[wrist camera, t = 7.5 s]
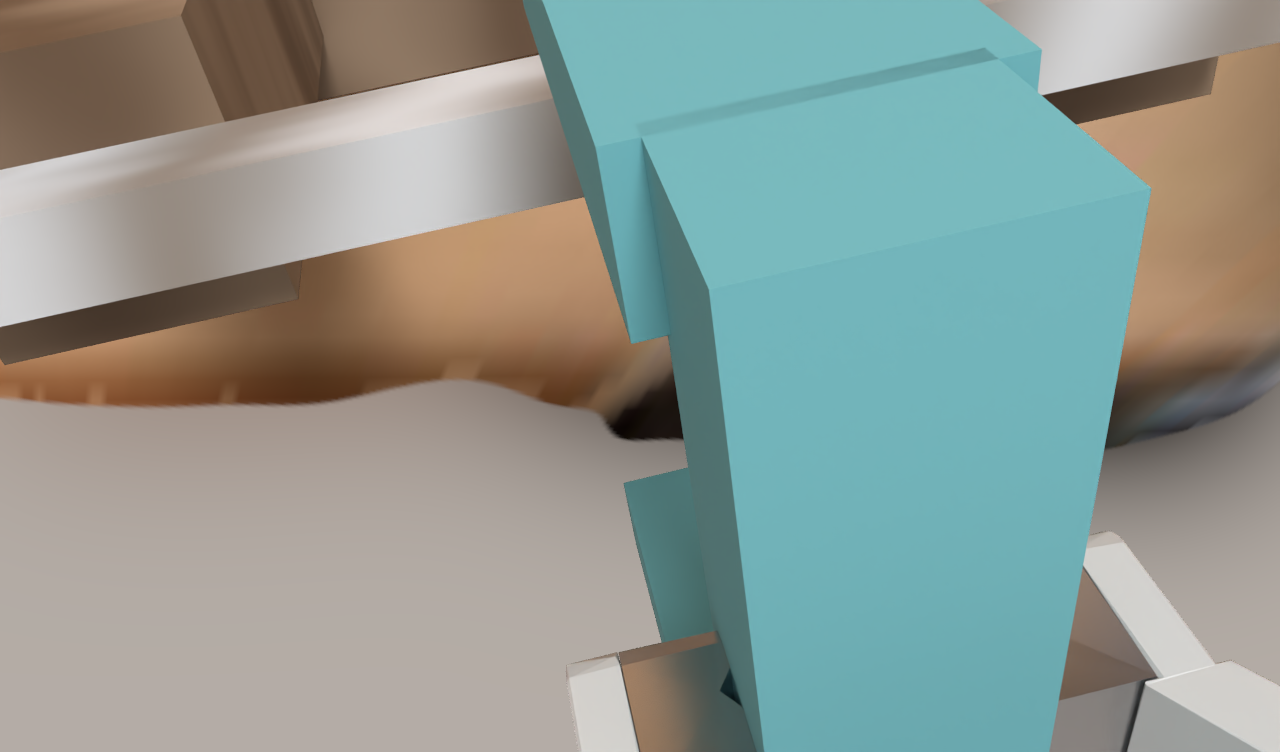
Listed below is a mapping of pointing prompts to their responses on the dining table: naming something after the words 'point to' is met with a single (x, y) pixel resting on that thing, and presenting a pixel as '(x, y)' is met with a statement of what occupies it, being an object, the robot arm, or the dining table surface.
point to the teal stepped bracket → (858, 348)
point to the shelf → (275, 74)
